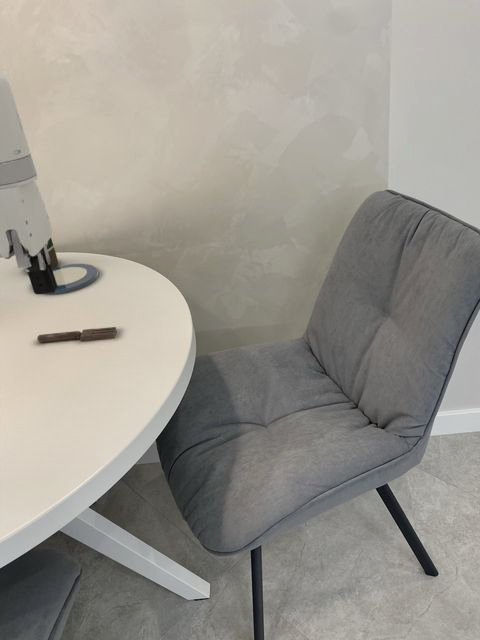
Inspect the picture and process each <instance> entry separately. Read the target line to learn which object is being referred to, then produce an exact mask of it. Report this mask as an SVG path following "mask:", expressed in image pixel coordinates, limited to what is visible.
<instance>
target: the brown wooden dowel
mask: <svg viewBox="0 0 480 640" xmlns="http://www.w3.org/2000/svg"><path fill="white" fill-rule="evenodd" d="M117 333H118V329H117V326H111V327H109V326H108V327H101V328H86V329H82V331H80V330H75V331H63V332H53V333H43V334H39V335H38V336H37V337H36V339H37V341H38V342H39V343H49V342H60V341H69V340H70V341H72V340H80V342H90V341H98V340H109V339H115V338H116V335H117Z"/></svg>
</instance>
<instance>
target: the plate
mask: <svg viewBox="0 0 480 640" xmlns="http://www.w3.org/2000/svg"><path fill="white" fill-rule="evenodd" d="M52 270H53V273H54V276H55V279H56V283H57V286H58V287H57V289H56V290H55V292H54V293H46V294H45V295H61V294H62V295H63V294H68V293H71V292H75V291H79V290H81V289H83V288H86V287H88V286H90V285H91V284H92V283H94V282H95V281H96V280H97V279H98V277H99V272H98V268H97V267H96V266H95V265H92V264H88V263H69V264H63V265H58V266H56V267H55V268H52Z"/></svg>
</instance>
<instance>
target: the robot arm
mask: <svg viewBox="0 0 480 640" xmlns="http://www.w3.org/2000/svg"><path fill="white" fill-rule="evenodd" d="M38 179H39V176H38V173H37V169H36V167H35V163H34V159H33V157H32V154H31V151H30V147H29V144H28V141H27V136H26V133H25V131H24V127H23V124H22V121H21V118H20V114H19V111H18V107H17V105H16V102H15V99H14V95H13V92H12V88H11V86H10V83H9V80H8V79H7V77H6V75H4V74H2V73H0V255H1V257H2V258H3V259H4V260H10V259H11V258H12V257H14V256H15V261H16V264H17V265H16V266H17V268H18V269H24V270H25V272H26V273H27V275H28V278H29V281H30V284H31V287H32V290H33V292H34V294H35V295H47V294H46V293H54V292H55V290H56V289H57V287H58V286H57V283H56V279H55V276H54V273H53V270H52V267H51V265H47V264H50V257H49V254H48V250H47V245H48V240H49V239H50V238H51V239H52V236H53V228H52V225H51V221H50V218H49V214H48V211H47V208H46V206H45V203H44V200H43V197H42V194H41V192H40V189H39V186H38V184H37V182H36V181H37V180H38Z"/></svg>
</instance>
